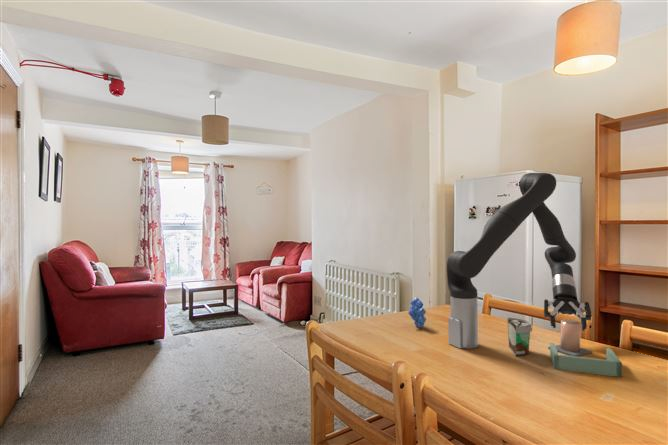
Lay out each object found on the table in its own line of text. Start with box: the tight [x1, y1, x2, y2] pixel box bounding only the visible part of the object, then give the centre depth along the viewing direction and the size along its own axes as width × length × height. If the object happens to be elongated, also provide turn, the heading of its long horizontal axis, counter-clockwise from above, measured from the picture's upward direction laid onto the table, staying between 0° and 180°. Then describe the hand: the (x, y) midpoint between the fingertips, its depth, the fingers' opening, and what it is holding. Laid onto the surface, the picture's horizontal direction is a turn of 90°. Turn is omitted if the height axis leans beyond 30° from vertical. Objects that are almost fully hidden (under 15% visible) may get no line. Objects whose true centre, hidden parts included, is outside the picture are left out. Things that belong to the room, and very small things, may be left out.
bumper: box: [549, 342, 623, 378], centre depth 116 cm, size 13×16×4 cm
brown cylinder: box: [559, 319, 581, 352], centre depth 128 cm, size 6×6×9 cm
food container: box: [506, 317, 533, 357], centre depth 128 cm, size 12×6×10 cm, turn 168°
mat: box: [547, 344, 593, 357], centre depth 128 cm, size 9×9×1 cm
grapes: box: [408, 296, 427, 328], centre depth 161 cm, size 12×7×12 cm, turn 13°
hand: (568, 328), depth 131 cm, fingers open, 8 cm apart
